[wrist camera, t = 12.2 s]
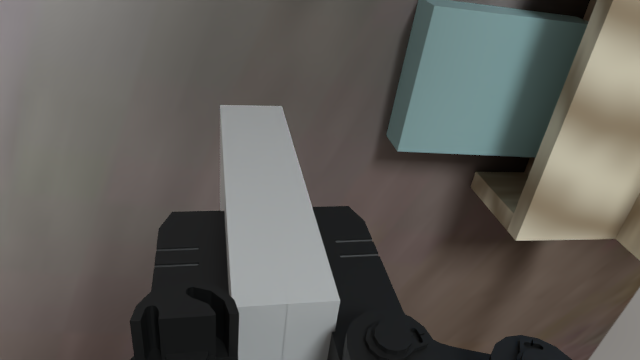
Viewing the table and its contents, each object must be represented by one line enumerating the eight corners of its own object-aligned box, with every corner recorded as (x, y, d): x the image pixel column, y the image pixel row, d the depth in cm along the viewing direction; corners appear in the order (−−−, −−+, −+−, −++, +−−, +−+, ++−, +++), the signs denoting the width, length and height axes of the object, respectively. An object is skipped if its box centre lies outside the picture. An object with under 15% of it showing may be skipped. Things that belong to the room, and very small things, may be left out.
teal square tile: (416, -6, 33) (434, 5, 31) (571, 14, 36) (599, 25, 34) (384, 132, 38) (397, 151, 36) (522, 140, 41) (543, 157, 39)
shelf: (556, -74, 32) (715, -46, 22) (678, -55, 35) (873, -23, 25) (470, 187, 42) (555, 287, 32) (570, 188, 44) (678, 281, 34)
